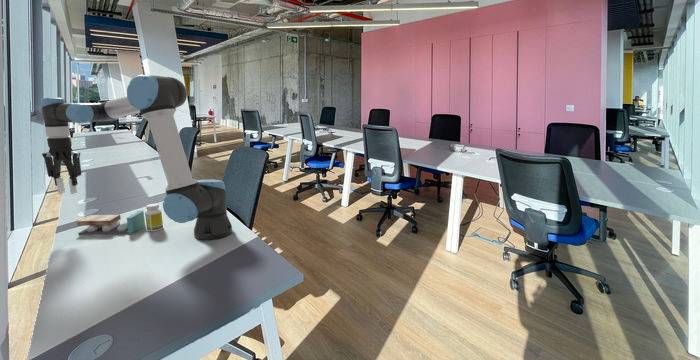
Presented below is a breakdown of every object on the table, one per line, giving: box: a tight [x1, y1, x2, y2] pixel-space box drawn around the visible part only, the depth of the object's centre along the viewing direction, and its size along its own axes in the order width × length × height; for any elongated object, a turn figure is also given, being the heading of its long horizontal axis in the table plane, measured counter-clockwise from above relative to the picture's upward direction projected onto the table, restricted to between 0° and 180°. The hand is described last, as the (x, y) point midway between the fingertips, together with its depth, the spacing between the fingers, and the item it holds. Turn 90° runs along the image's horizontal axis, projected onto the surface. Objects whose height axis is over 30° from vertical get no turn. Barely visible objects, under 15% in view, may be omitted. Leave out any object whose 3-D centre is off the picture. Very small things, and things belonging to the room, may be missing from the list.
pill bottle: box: [144, 203, 164, 233], centre depth 155 cm, size 6×6×11 cm
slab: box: [76, 214, 122, 227], centre depth 154 cm, size 13×8×2 cm, turn 94°
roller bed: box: [77, 210, 146, 236], centre depth 155 cm, size 22×10×7 cm, turn 94°
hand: (67, 193), depth 151 cm, fingers open, 4 cm apart
